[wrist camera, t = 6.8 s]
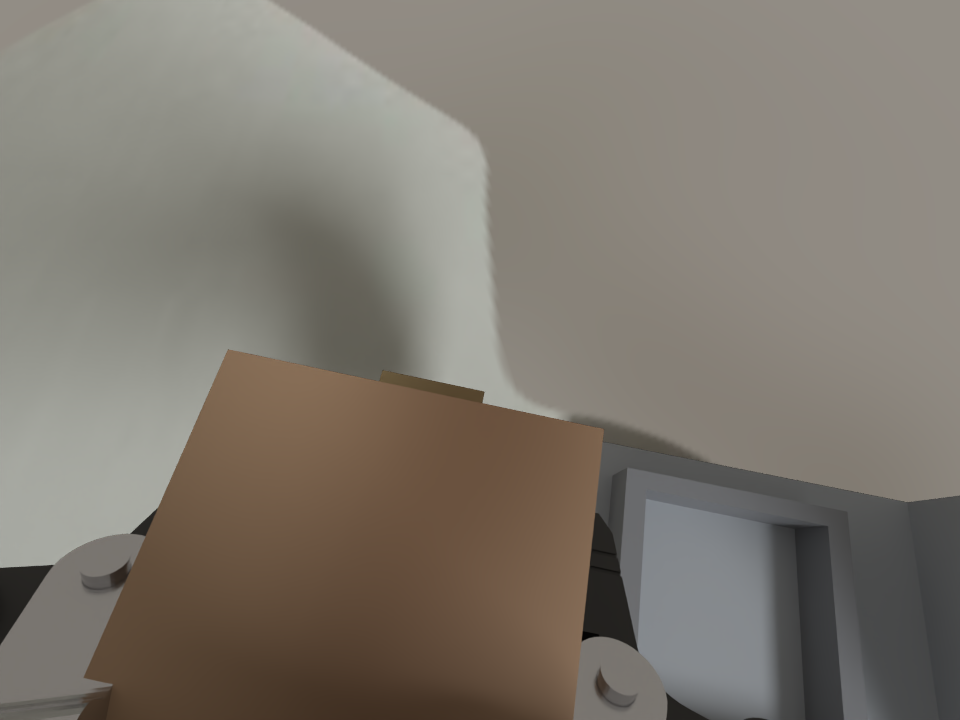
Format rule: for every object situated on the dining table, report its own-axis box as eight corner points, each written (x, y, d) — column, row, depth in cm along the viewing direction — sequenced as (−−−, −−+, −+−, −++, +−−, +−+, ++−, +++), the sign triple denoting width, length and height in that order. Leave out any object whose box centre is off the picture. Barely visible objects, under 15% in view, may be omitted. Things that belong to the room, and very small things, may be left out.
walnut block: (298, 653, 13) (12, 836, 4) (361, 440, 15) (251, 297, 7) (483, 694, 13) (546, 963, 4) (520, 474, 15) (609, 371, 7)
